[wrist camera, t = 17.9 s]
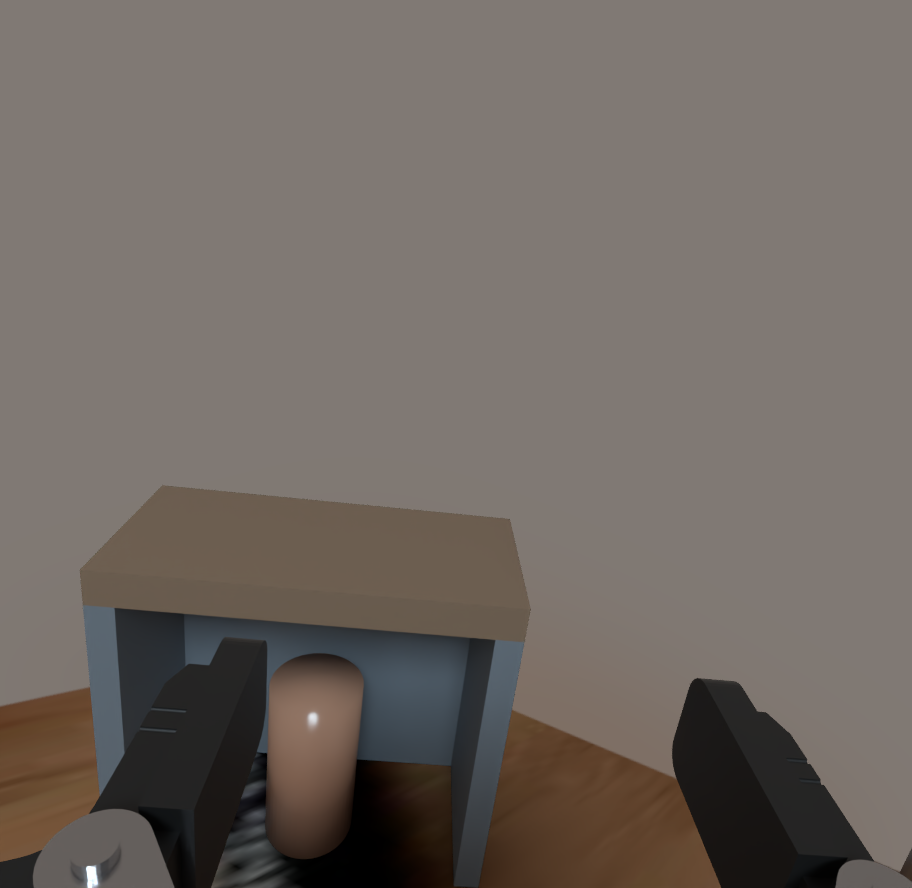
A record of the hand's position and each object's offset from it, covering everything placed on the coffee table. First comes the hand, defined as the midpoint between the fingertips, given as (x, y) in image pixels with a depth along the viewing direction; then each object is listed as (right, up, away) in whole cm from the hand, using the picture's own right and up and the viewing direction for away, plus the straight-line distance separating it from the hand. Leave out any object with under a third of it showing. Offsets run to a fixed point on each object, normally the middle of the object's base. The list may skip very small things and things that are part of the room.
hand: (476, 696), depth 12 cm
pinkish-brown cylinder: (-10, -20, +30) cm, 38 cm away
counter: (-10, -19, +31) cm, 38 cm away
